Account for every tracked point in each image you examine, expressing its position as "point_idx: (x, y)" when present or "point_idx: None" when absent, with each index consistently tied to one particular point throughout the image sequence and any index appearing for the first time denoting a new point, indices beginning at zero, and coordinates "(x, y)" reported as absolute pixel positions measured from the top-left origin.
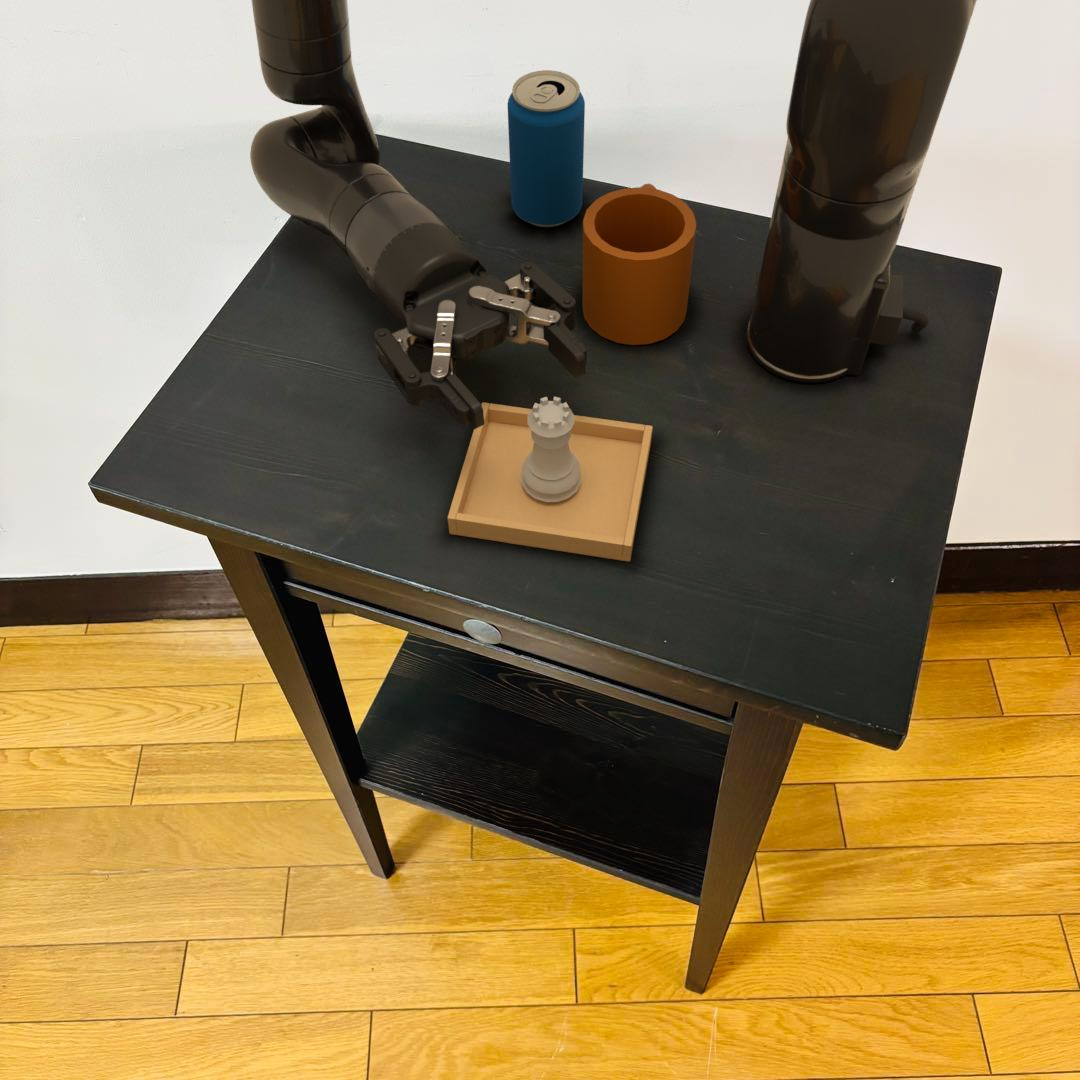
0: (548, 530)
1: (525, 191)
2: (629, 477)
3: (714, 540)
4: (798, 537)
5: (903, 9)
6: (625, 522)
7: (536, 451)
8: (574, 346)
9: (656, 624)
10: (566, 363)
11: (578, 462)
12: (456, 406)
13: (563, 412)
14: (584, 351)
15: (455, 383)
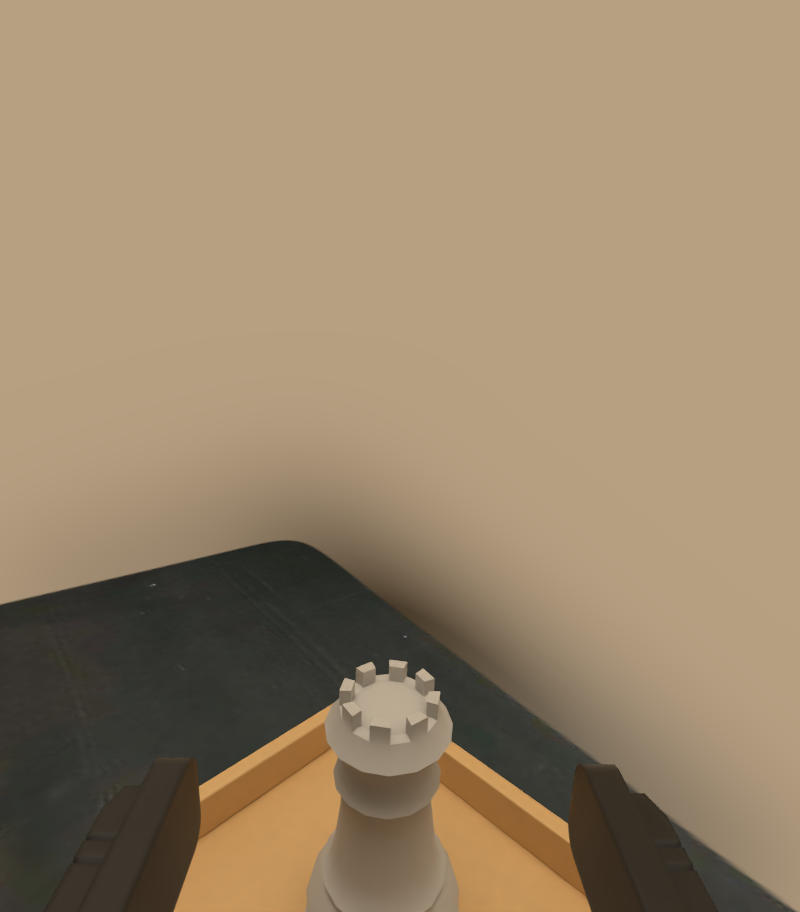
0: (473, 764)
1: None
2: (233, 831)
3: (239, 689)
4: (157, 646)
5: None
6: (325, 757)
7: (431, 806)
8: (149, 790)
9: (399, 651)
10: (175, 877)
11: (318, 854)
12: (669, 828)
13: (359, 693)
14: (133, 787)
15: (665, 891)
